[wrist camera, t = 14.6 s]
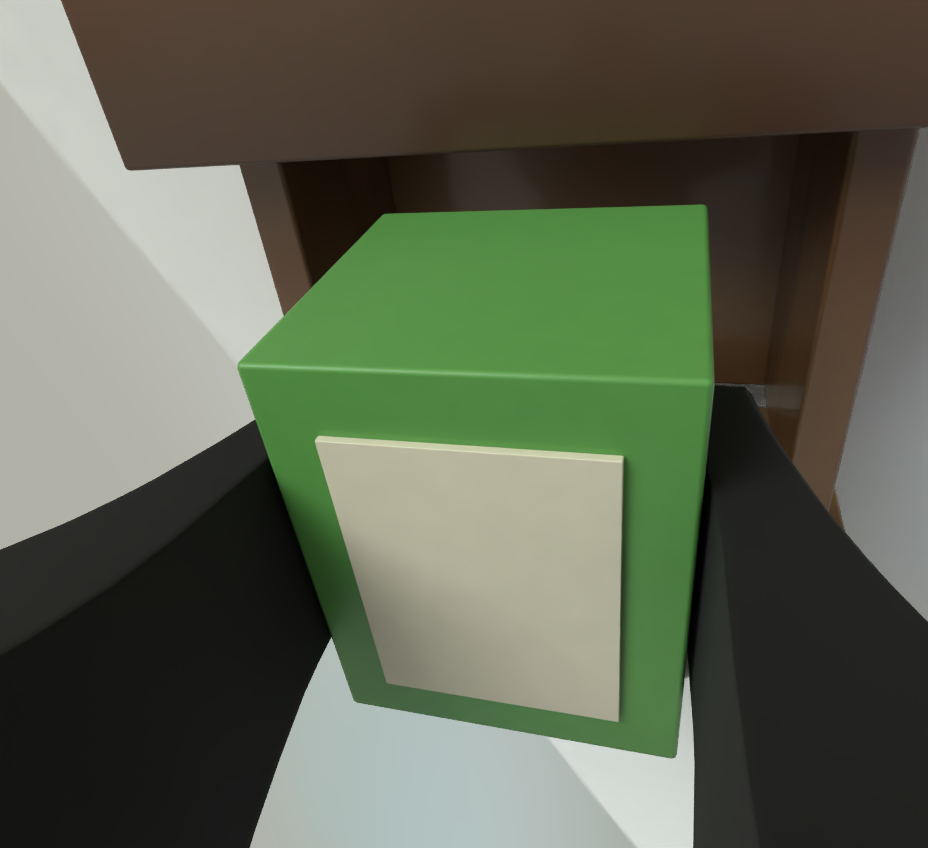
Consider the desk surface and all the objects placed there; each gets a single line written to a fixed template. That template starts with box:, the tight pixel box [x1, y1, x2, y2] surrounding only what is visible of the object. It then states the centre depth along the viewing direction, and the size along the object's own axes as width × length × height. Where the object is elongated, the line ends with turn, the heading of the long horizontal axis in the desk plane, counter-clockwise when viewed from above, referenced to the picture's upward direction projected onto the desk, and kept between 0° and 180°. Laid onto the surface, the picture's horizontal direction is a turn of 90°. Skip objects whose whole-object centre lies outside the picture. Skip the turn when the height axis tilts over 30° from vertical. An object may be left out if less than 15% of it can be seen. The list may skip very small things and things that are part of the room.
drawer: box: [240, 128, 920, 678], centre depth 15 cm, size 18×11×6 cm, turn 6°
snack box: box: [238, 205, 715, 758], centre depth 9 cm, size 4×6×4 cm
